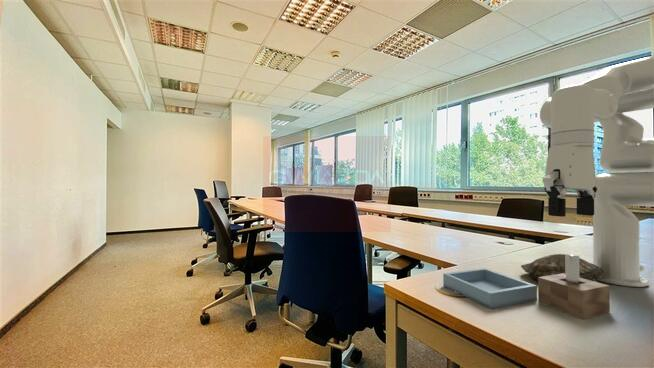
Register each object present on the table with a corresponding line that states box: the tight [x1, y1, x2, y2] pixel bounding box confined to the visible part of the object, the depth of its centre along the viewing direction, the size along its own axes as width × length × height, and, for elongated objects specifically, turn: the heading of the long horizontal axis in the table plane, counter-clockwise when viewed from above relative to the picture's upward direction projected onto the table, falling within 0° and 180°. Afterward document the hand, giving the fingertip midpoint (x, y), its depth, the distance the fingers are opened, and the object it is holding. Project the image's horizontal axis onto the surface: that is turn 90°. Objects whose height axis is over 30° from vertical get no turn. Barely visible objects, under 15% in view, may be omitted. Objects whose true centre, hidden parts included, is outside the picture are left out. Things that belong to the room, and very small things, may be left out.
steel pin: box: [565, 253, 580, 285], centre depth 64 cm, size 2×2×12 cm
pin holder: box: [537, 273, 611, 320], centre depth 64 cm, size 9×9×6 cm
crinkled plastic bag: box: [520, 253, 605, 282], centre depth 82 cm, size 16×9×20 cm
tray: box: [442, 267, 538, 309], centre depth 73 cm, size 15×15×4 cm
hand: (571, 215), depth 64 cm, fingers open, 9 cm apart
